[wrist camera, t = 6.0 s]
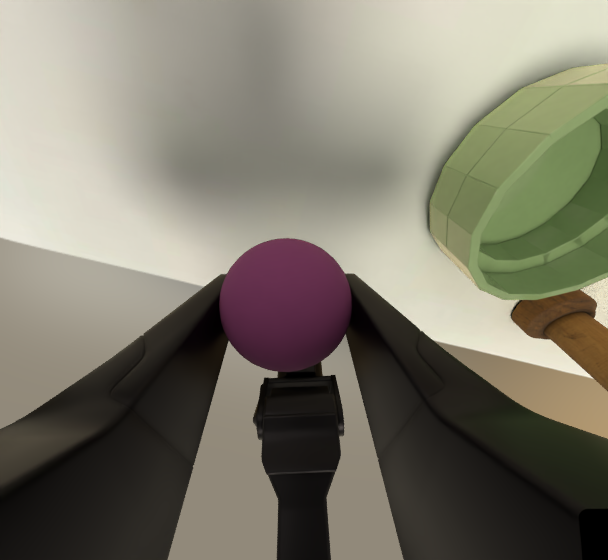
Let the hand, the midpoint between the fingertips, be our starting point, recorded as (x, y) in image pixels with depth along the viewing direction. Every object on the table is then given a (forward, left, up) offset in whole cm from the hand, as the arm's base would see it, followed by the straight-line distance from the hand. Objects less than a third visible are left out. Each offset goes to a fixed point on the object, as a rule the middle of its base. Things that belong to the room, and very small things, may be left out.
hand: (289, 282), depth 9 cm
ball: (0, 0, +1) cm, 1 cm away
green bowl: (+1, -17, -11) cm, 21 cm away
